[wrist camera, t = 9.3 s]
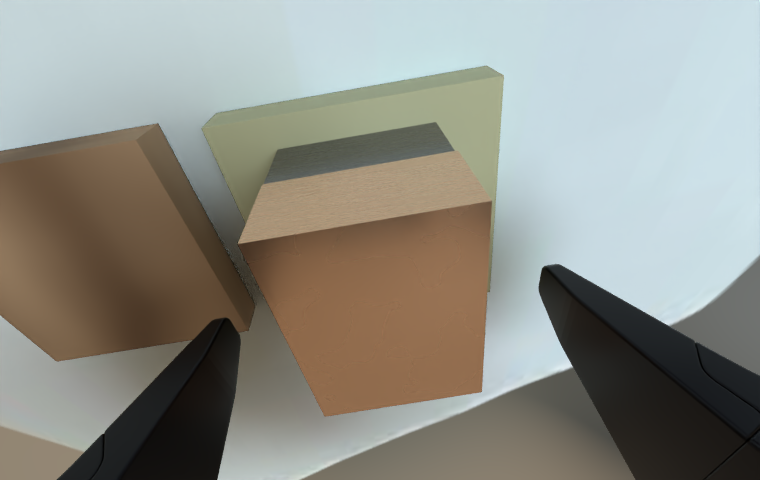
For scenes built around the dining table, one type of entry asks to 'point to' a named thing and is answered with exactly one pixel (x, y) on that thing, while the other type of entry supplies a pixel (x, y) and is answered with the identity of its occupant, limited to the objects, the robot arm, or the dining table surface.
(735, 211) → the dining table surface
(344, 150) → the base
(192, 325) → the stand
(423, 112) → the stand
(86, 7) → the dining table surface
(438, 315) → the cover
